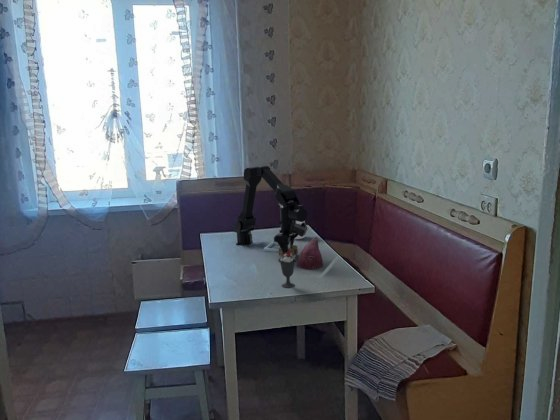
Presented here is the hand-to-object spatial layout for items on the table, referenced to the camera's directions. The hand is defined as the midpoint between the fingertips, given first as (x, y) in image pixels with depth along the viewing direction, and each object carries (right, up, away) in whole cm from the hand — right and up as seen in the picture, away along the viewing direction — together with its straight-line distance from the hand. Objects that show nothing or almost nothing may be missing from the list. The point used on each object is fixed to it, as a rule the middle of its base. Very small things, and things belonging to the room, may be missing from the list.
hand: (288, 252), depth 217 cm
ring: (0, 0, 0) cm, 0 cm away
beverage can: (+5, +4, +34) cm, 35 cm away
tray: (-4, 0, +13) cm, 14 cm away
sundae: (0, -10, -33) cm, 34 cm away
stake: (0, -2, 0) cm, 2 cm away
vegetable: (+9, -5, -13) cm, 17 cm away
